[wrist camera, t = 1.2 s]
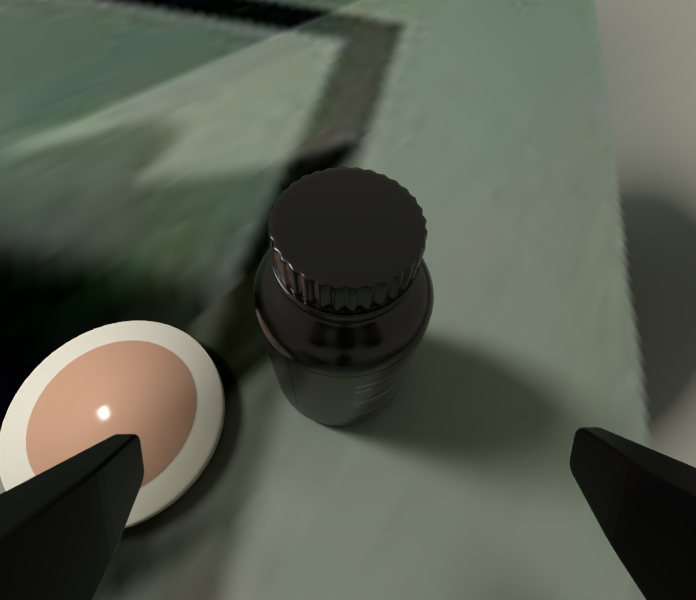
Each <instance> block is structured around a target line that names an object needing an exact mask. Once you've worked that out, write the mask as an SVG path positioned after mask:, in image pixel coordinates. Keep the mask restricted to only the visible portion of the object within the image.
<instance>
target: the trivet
mask: <svg viewBox="0 0 696 600" xmlns="http://www.w3.org/2000/svg"><path fill="white" fill-rule="evenodd" d="M224 417H225V394H224V387H223V383H222V380H221V377H220V374H219V372H218V370H217V368H216V366H215V364H214V363H213V361H212V360H211V358H210V357H209V355H208V354H207V352H206V351H205V350H204V348H203V347H202V346H201V345H200V344H199V343H198V342H197V341H196V340H194V339H193V338H192V337H191V336H189V335H188V334H186V333H184V332H183V331H181V330H179V329H177V328H174V327H172V326H169V325H166V324H162V323H158V322H150V321H126V322H119V323H114V324H109V325H105V326H102V327H99V328H96V329H93V330H91V331H89V332H86V333H84V334H82V335H80V336H78V337H76V338H74V339H72V340H71V341H69V342H67V343H66V344H64V345H63V346H61V347H60V348H58V349H57V350H56V351H54V352H53V353H52V354H51V355H49V356H48V357H47V358H46V359H45V360H44V361H43V362H42V363H41V364H40V365H39V366H38V367H37V368H36V369H35V370H34V371H33V372H32V373H31V374H30V375H29V377H28V378H27V379H26V380H25V381H24V383H23V384H22V386H21V387H20V389H19V390H18V392H17V393H16V395H15V397H14V399H13V401H12V402H11V404H10V406H9V408H8V411H7V413H6V416H5V418H4V421H3V424H2V428H1V432H0V477H1V480H2V483H3V485H4V488H5V491H8V490H9V489H11V488H13V487H15V486H17V485H19V484H21V483H23V482H25V481H27V480H29V479H30V478H32V477H34V476H36V475H38V474H40V473H42V472H44V471H46V470H48V469H50V468H52V467H53V466H55V465H57V464H59V463H61V462H63V461H65V460H67V459H69V458H71V457H73V456H74V455H76V454H78V453H80V452H82V451H84V450H86V449H88V448H90V447H92V446H94V445H95V444H97V443H99V442H101V441H103V440H105V439H107V438H109V437H111V436H113V435H115V434H136V435H137V436H139V438H140V442H141V449H142V456H143V464H144V478H143V482H142V484H141V487H140V490H139V492H138V495H137V497H136V500H135V502H134V505H133V508H132V510H131V513H130V515H129V518H128V520H127V523H126V526H125V528H128V527H132V526H134V525H137V524H139V523H141V522H144V521H146V520H148V519H150V518H152V517H153V516H155V515H157V514H158V513H160V512H162V511H163V510H165V509H166V508H167V507H169V506H170V505H171V504H173V503H174V502H175V501H177V500H178V499H179V498H180V497H181V496H182V495H183V494H184V493H185V492H186V491H187V490H188V489H189V488H190V487H191V486H192V485H193V484H194V482H195V481H196V480H197V479H198V478H199V477H200V475H201V474H202V472H203V471H204V469H205V468H206V466H207V465H208V463H209V461H210V459H211V457H212V456H213V454H214V452H215V450H216V447H217V444H218V442H219V439H220V436H221V432H222V429H223V425H224ZM125 528H124V529H125Z"/></svg>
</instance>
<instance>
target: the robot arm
mask: <svg viewBox="0 0 696 600" xmlns="http://www.w3.org/2000/svg"><path fill="white" fill-rule="evenodd" d="M570 468H571V471H572V474H573V476H574V478H575V480H576V481H577V483H578V485H579V487H580V489H581V491H582V493H583V495H584V496H585V498H586V500H587V502H588V504H589V506H590V508H591V510H592V511H593V513H594V515H595V517H596V519H597V521H598V523H599V524H600V526H601V528H602V530H603V532H604V534H605V535H606V537H607V539H608V541H609V542H610V544H611V546H612V547H613V549H614V551H615V552H616V554H617V555H618V557H619V559H620V560H621V562H622V563H623V565H624V566H625V568H626V569H627V571H628V572H629V574H630V575H631V577H632V579H633V580H634V582H635V583H636V585H637V586H638V588H639V589H640V591H641V592H642V594H643V595H644V597H645V598H646V600H696V468H695V467H693V466H690V465H688V464H685V463H683V462H681V461H678V460H676V459H673V458H671V457H669V456H666V455H664V454H662V453H659V452H657V451H654V450H652V449H650V448H647V447H645V446H642V445H640V444H638V443H635V442H633V441H631V440H628V439H626V438H623V437H621V436H619V435H616V434H614V433H611V432H609V431H607V430H604V429H602V428H598V427H583V428H579V429H578V430H577V431H576V433H575V437H574V442H573V447H572V452H571V457H570ZM143 478H144V464H143V456H142V449H141V442H140V438H139V436H137V435H136V434H115V435H113V436H111V437H109V438H107V439H105V440H103V441H101V442H99V443H97V444H95V445H94V446H92V447H90V448H88V449H86V450H84V451H82V452H80V453H78V454H76V455H74V456H73V457H71V458H69V459H67V460H65V461H63V462H61V463H59V464H57V465H55V466H53V467H52V468H50V469H48V470H46V471H44V472H42V473H40V474H38V475H36V476H34V477H32V478H30V479H29V480H27V481H25V482H23V483H21V484H19V485H17V486H15V487H13V488H11V489H9V490H8V491H6V492H4V493H2V494H0V600H92V599H93V597H94V595H95V593H96V591H97V589H98V587H99V585H100V583H101V581H102V579H103V577H104V575H105V573H106V571H107V569H108V567H109V565H110V562H111V560H112V558H113V556H114V553H115V551H116V549H117V546H118V544H119V541H120V538H121V536H122V533H123V531H124V528H125V526H126V523H127V520H128V518H129V515H130V513H131V510H132V508H133V505H134V502H135V500H136V497H137V495H138V492H139V490H140V487H141V484H142V482H143Z"/></svg>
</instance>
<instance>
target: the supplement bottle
mask: <svg viewBox="0 0 696 600" xmlns="http://www.w3.org/2000/svg"><path fill="white" fill-rule="evenodd" d="M425 226H426V219H425V217H424V216H423V215H422V208H421V207H420V206H419V205H418V204H417V201H416V198H415V197H413V196H412V195H410V194H409V192H408V190H407V189H406V188H404V187H402V186H400V185H399V183H398V182H397V181H395V180H392V179H389V178H388V177H387V176H385V175H383V174H377V173H375V172H374V171H372V170H363V169H360V168H347V167H340V168H337V169H335V168H328V169H326V170H324V171H315V172H314V173H312V174H311V175H306V176H303V177H302V178H301V179H300V180H299V181H296V182H293V183H291V185H290V186H289V188H288V189H286V190H284V191H282V193H281V197H280V198H278V199H277V200H276V201H275V204H274V208H273V209H272V211H271V212H270V221H269V224H268V232H269V244H270V248H269V250H268V251H267V253H266V254H265V256H264V257H263V259H262V261H261V263H260V265H259V268H258V270H257V273H256V277H255V282H254V290H253V299H254V307H255V311H256V316H257V320H258V323H259V326H260V329H261V332H262V335H263V338H264V341H265V344H266V347H267V350H268V353H269V356H270V359H271V362H272V364H273V367H274V370H275V373H276V376H277V379H278V382H279V384H280V387H281V389H282V391H283V393H284V395H285V396H286V398H287V399H288V401H289V402H290V403H291V404H292V405H293V406H294V408H295V409H297V410H298V411H299V412H300V413H301V414H303V415H304V416H306V417H308V418H310V419H311V420H314V421H316V422H319V423H322V424H327V425H334V426H346V425H352V424H357V423H360V422H363V421H365V420H367V419H369V418H371V417H373V416H375V415H376V414H377V413H379V412H380V411H381V410H382V409H383V408H384V407H385V406H386V405H387V404H388V403H389V402H390V400H391V399H392V398H393V396H394V394H395V393H396V391H397V389H398V387H399V385H400V383H401V381H402V379H403V377H404V375H405V373H406V371H407V369H408V367H409V365H410V363H411V360H412V358H413V356H414V354H415V352H416V350H417V348H418V346H419V344H420V342H421V340H422V338H423V335H424V333H425V331H426V329H427V327H428V324H429V320H430V317H431V314H432V309H433V301H434V293H433V284H432V279H431V275H430V272H429V270H428V267H427V265H426V263H425V261H424V259H423V254H424V251H425V242H426V238H427V230H426V227H425Z"/></svg>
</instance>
